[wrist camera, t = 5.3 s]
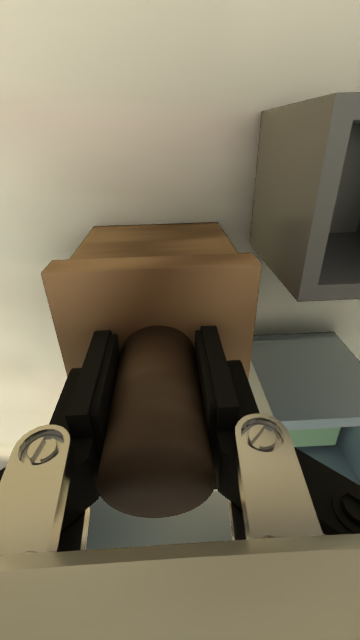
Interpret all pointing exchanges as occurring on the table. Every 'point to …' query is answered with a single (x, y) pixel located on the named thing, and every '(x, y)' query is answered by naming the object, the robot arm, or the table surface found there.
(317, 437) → the green cube
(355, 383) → the square blue-grey bin
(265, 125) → the grey open storage bin
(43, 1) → the table surface
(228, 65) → the table surface
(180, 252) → the oak box
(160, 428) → the lid
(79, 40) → the table surface
